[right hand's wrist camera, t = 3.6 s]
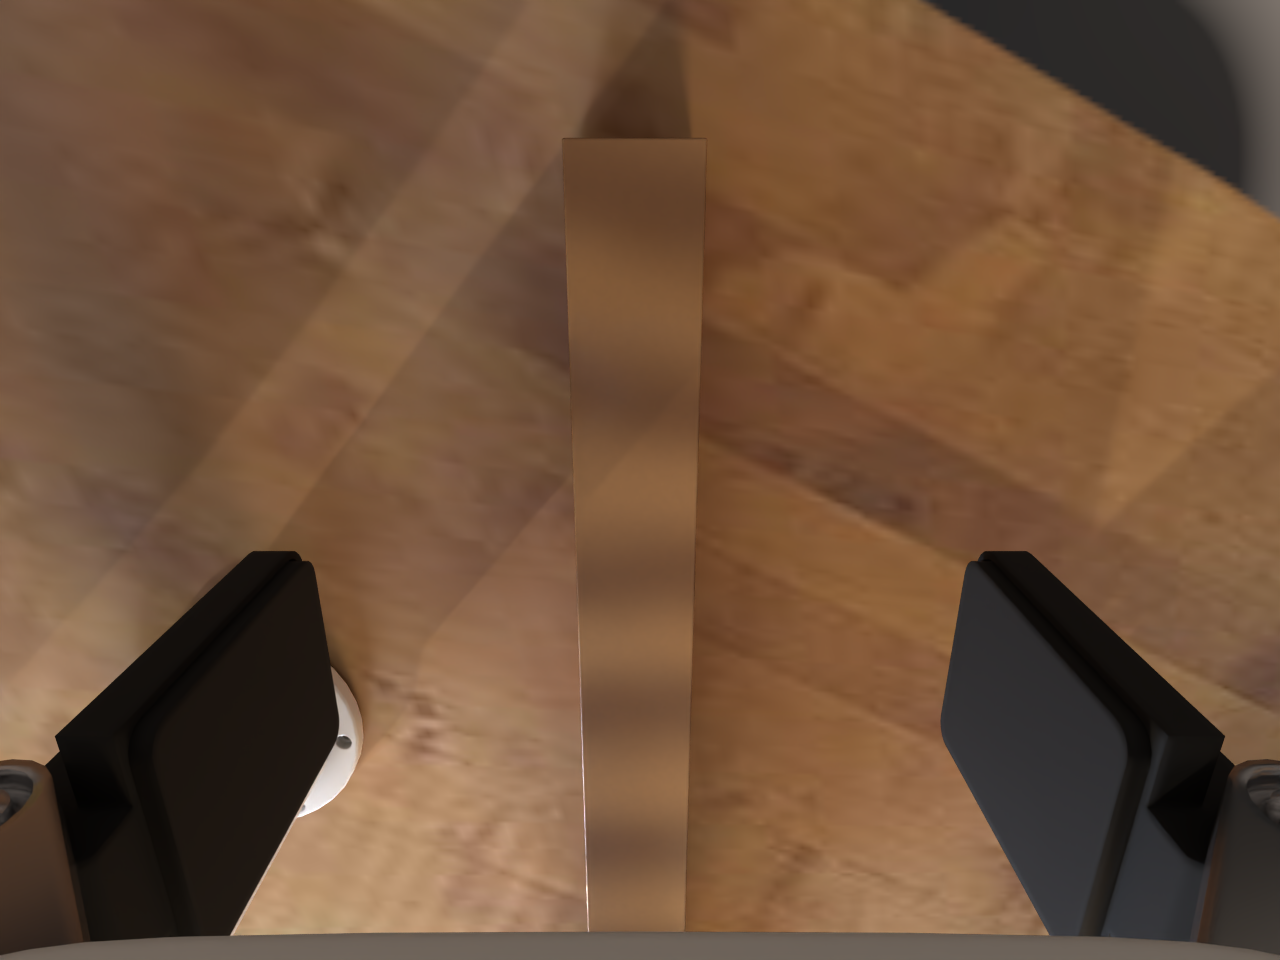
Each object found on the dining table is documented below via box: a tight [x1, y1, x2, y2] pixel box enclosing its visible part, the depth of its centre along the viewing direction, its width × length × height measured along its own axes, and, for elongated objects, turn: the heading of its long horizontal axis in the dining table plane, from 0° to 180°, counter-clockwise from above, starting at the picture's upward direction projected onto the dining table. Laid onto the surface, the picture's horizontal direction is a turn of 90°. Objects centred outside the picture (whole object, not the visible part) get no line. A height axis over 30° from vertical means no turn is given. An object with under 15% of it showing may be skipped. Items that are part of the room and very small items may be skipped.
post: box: [562, 138, 707, 932], centre depth 41 cm, size 63×5×7 cm, turn 0°
